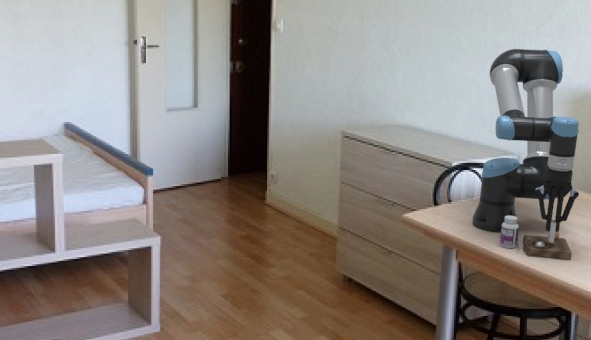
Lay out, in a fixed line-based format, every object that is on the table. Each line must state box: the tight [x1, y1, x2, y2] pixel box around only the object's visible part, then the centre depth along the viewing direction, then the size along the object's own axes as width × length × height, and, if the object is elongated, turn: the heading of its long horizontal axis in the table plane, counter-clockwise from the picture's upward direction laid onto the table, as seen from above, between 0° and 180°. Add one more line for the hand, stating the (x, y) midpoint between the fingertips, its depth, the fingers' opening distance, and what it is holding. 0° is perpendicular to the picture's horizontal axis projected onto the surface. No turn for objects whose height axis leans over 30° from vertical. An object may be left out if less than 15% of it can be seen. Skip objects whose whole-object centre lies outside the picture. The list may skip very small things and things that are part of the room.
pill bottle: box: [499, 216, 520, 249], centre depth 241 cm, size 5×5×10 cm
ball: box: [534, 241, 545, 247], centre depth 238 cm, size 3×3×3 cm
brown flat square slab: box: [522, 234, 573, 261], centre depth 239 cm, size 14×13×2 cm
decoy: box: [554, 230, 560, 240], centre depth 242 cm, size 3×3×3 cm
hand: (550, 240), depth 237 cm, fingers closed
